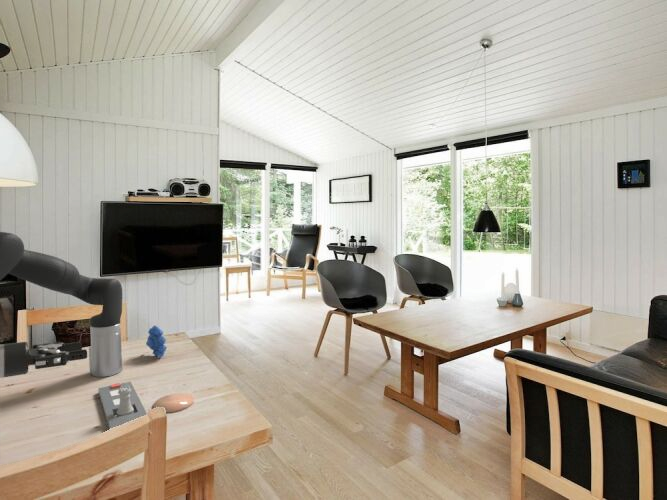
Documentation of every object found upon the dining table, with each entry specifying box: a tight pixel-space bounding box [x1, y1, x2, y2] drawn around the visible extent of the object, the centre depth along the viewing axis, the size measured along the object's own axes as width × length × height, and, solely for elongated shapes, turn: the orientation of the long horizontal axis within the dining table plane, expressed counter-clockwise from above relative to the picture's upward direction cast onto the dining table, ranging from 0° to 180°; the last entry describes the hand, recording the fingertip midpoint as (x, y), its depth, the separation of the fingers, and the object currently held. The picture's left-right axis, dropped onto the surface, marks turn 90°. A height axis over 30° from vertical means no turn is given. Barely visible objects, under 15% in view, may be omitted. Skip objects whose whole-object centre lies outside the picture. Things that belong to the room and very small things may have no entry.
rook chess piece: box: [115, 386, 135, 418], centre depth 109 cm, size 4×4×8 cm
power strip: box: [97, 381, 148, 429], centre depth 114 cm, size 30×9×2 cm, turn 36°
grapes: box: [145, 325, 167, 358], centre depth 155 cm, size 12×7×12 cm, turn 50°
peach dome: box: [153, 392, 195, 414], centre depth 116 cm, size 11×11×1 cm
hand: (84, 349), depth 102 cm, fingers open, 8 cm apart
